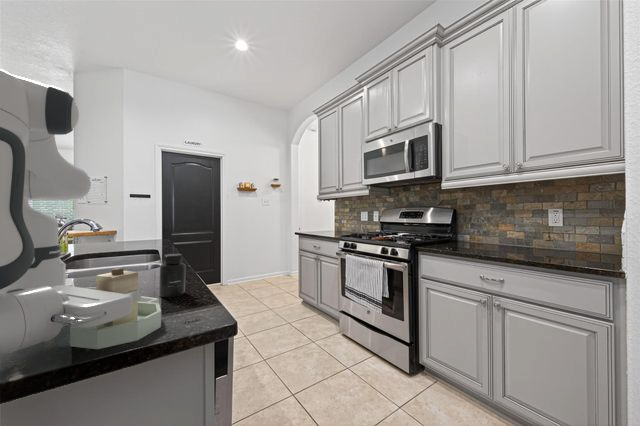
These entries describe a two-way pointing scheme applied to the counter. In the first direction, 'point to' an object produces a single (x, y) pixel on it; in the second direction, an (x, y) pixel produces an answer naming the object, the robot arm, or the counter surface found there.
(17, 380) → the counter surface
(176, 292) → the supplement bottle
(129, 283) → the birch canister
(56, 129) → the robot arm
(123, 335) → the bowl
